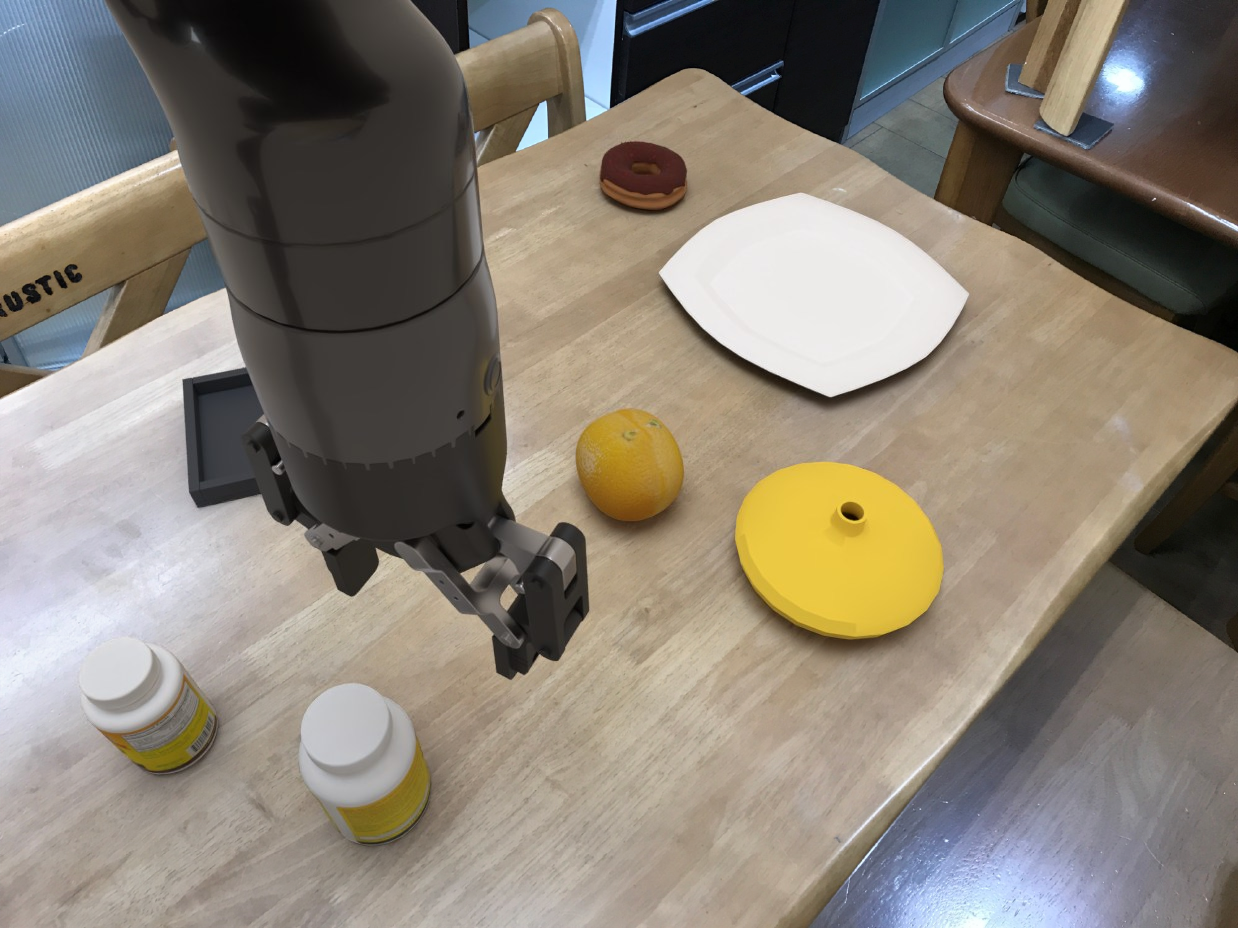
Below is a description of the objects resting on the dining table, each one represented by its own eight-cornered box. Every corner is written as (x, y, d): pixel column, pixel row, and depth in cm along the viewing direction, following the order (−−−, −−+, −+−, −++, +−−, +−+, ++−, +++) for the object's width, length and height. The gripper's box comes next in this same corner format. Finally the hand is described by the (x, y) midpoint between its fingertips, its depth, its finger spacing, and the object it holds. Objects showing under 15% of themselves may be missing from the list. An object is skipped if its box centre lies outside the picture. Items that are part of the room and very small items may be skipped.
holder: (197, 508, 70) (188, 492, 68) (190, 396, 77) (182, 379, 75) (396, 463, 73) (392, 447, 72) (371, 360, 81) (367, 343, 79)
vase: (811, 453, 76) (830, 397, 71) (970, 568, 70) (1004, 516, 64) (687, 558, 69) (698, 505, 63) (851, 698, 62) (879, 652, 57)
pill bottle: (453, 794, 57) (432, 722, 48) (370, 872, 54) (330, 810, 45) (390, 726, 59) (359, 645, 50) (307, 795, 56) (258, 723, 47)
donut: (704, 193, 100) (709, 162, 97) (642, 227, 95) (644, 195, 92) (642, 154, 104) (645, 123, 101) (579, 185, 99) (580, 153, 96)
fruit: (699, 500, 72) (712, 437, 66) (629, 556, 69) (636, 495, 63) (623, 439, 76) (629, 374, 70) (553, 489, 72) (552, 425, 66)
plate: (621, 285, 89) (622, 269, 87) (795, 188, 101) (799, 173, 100) (829, 441, 77) (834, 426, 76) (998, 310, 89) (1005, 295, 88)
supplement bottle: (127, 713, 59) (59, 641, 51) (214, 684, 61) (161, 610, 53) (134, 791, 56) (63, 728, 48) (226, 758, 57) (172, 692, 50)
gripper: (118, 357, 27) (257, 616, 40) (512, 544, 24) (529, 764, 36) (282, 230, 32) (361, 500, 44) (636, 372, 28) (613, 622, 41)
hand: (436, 619), depth 40 cm, fingers open, 8 cm apart
